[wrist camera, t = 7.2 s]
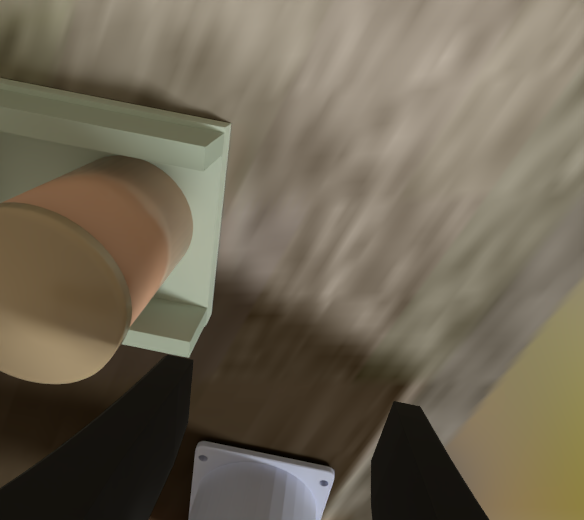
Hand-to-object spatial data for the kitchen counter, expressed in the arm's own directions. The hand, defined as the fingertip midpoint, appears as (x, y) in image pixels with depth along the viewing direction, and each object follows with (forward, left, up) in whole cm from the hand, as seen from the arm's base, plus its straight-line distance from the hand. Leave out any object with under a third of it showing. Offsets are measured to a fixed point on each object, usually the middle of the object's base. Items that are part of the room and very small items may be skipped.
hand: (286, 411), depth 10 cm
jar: (0, +8, -8) cm, 11 cm away
